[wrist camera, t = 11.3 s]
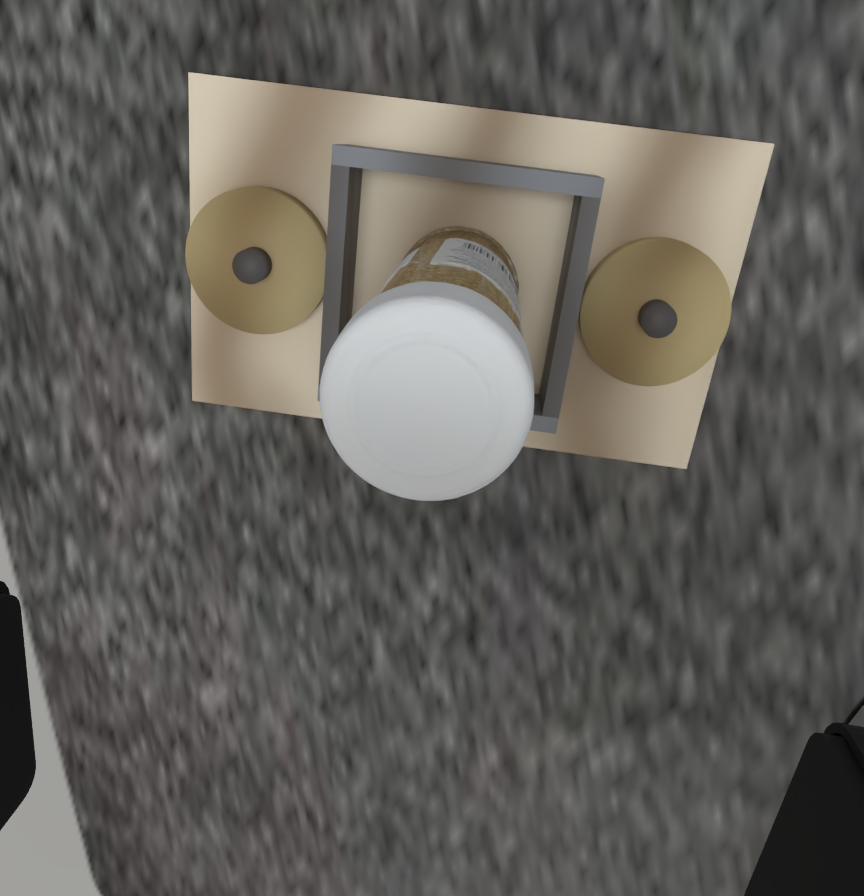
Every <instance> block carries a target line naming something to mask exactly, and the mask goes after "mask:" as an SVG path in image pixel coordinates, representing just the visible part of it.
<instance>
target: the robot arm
mask: <svg viewBox="0 0 864 896" xmlns="http://www.w3.org/2000/svg"><path fill="white" fill-rule="evenodd" d="M35 770H36V760H35V751H34V740H33V729H32V719H31V709H30V699H29V688H28V678H27V668H26V658H25V648H24V637H23V627H22V616H21V607H20V603H19V600H18V599H17V597H15V596H13V595H10V593H9V589H8V587H7V586H6V584H5V583H4V582H2V581H0V830H1V829H2V827H3V826H4V825H5V823H6V822H7V821H8V820H9V818H10V817H11V816H12V814H13V813H14V811H15V810H16V809H17V808H18V806H19V805H20V804H21V802H22V801H23V799H24V798H25V796H26V795H27V793H28V791H29V789H30V787H31V785H32V782H33V779H34V775H35ZM744 896H864V705H863V706H862V707H861V709H860V710H859V711H858V712H857V714H856V715H855V716H854V718H853V719H852V720H851V721H850V723H849V724H843V723H832V724H831V725H829V726H828V727H827V728H826V730H825V731H824V733H814V734H813V735H812V736H811V737H810V738H809V740H808V742H807V744H806V747H805V749H804V752H803V754H802V756H801V759H800V761H799V764H798V766H797V768H796V771H795V773H794V776H793V778H792V781H791V783H790V785H789V788H788V790H787V793H786V795H785V797H784V800H783V802H782V805H781V807H780V810H779V812H778V814H777V817H776V819H775V822H774V824H773V826H772V829H771V831H770V834H769V836H768V839H767V841H766V843H765V846H764V848H763V851H762V853H761V855H760V858H759V860H758V863H757V865H756V868H755V870H754V872H753V875H752V877H751V880H750V882H749V885H748V887H747V889H746V892H745V895H744Z"/></svg>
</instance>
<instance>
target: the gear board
mask: <svg viewBox="0 0 864 896" xmlns="http://www.w3.org/2000/svg"><path fill="white" fill-rule="evenodd" d="M188 73H189V161H190V229H189V233H188V236H187V241H186V251H185V257H186V266H187V271H188V275H189V278H190V281H191V335H192V401H199V402H206V403H213V404H220V405H228V406H235V407H242V408H249V409H256V410H264V411H271V412H278V413H285V414H292V415H300V416H307V417H314V418H321V419H323V418H322V414H321V409H320V380H321V376H322V371H323V367H324V364H325V361H326V358H327V356H328V354H329V351H330V350H331V348H332V346H333V344H334V343H335V341H336V340H337V338H338V336H339V335H340V333H341V332H342V330H343V329H344V327H345V326H346V324H347V323H348V322H349V321H350V319H351V318H352V317H353V316H354V315H355V314H356V312H357V311H358V310H359V309H360V308H361V307H363V306H364V305H365V304H366V303H367V302H368V301H370V300H371V299H373V298H374V297H376V296H378V295H379V294H380V293H381V291H382V289H383V287H384V285H385V284H386V282H387V281H388V279H389V278H390V276H391V275H392V274H393V272H394V271H395V269H396V268H397V267H398V266H399V264H400V263H401V262H402V260H403V258H404V257H405V255H406V254H407V253H408V252H409V250H410V249H411V248H412V247H413V246H414V245H415V243H416V242H417V241H418V240H420V239H421V238H423V237H424V236H426V235H427V234H429V233H431V232H433V231H435V230H437V229H441V228H447V227H457V226H462V227H465V228H471V229H475V230H479V231H481V232H483V233H485V234H487V235H489V236H490V237H492V238H493V239H495V240H496V241H497V242H498V243H500V244H501V245H502V247H503V248H504V250H505V251H506V252H507V254H508V255H509V256H510V258H511V261H512V263H513V264H514V266H515V268H516V272H517V277H518V283H519V292H518V298H519V304H520V310H521V318H522V327H523V335H524V341H525V344H526V346H527V349H528V351H529V355H530V359H531V364H532V371H533V378H534V414H533V419H532V423H531V427H530V430H529V433H528V436H527V439H526V441H525V443H524V445H523V447H530V448H538V449H545V450H552V451H559V452H567V453H574V454H581V455H588V456H595V457H603V458H610V459H617V460H624V461H631V462H639V463H646V464H653V465H660V466H667V467H675V468H682V469H687V465H688V462H689V458H690V454H691V451H692V447H693V443H694V440H695V436H696V432H697V429H698V425H699V421H700V417H701V414H702V410H703V406H704V403H705V399H706V395H707V392H708V388H709V384H710V381H711V377H712V373H713V369H714V366H715V362H716V358H717V355H718V351H719V347H720V345H721V344H722V342H723V340H724V338H725V336H726V333H727V330H728V327H729V323H730V318H731V303H732V299H733V296H734V292H735V288H736V284H737V281H738V277H739V273H740V270H741V266H742V262H743V259H744V255H745V251H746V248H747V244H748V240H749V236H750V233H751V229H752V225H753V222H754V218H755V214H756V211H757V207H758V203H759V200H760V196H761V192H762V188H763V185H764V181H765V177H766V174H767V170H768V166H769V163H770V159H771V155H772V152H773V148H774V144H771V143H762V142H754V141H746V140H738V139H730V138H722V137H713V136H705V135H697V134H689V133H681V132H672V131H664V130H656V129H648V128H640V127H632V126H623V125H615V124H607V123H599V122H591V121H582V120H574V119H566V118H558V117H550V116H542V115H533V114H525V113H517V112H509V111H501V110H493V109H484V108H476V107H468V106H460V105H452V104H443V103H435V102H427V101H419V100H411V99H403V98H394V97H386V96H378V95H370V94H362V93H353V92H345V91H337V90H329V89H321V88H313V87H304V86H296V85H288V84H280V83H272V82H263V81H255V80H247V79H239V78H231V77H223V76H214V75H206V74H198V73H190V72H188Z"/></svg>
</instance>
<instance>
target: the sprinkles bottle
mask: <svg viewBox="0 0 864 896" xmlns="http://www.w3.org/2000/svg"><path fill="white" fill-rule="evenodd" d="M518 292H519V283H518V277H517V272H516V268H515V266H514V264H513V263H512V261H511V258H510V256H509V255H508V254H507V252H506V251H505V250H504V248H503V247H502V245H501V244H500V243H498V242H497V241H496V240H495V239H493V238H492V237H490V236H489V235H487V234H485V233H483V232H481V231H479V230H475V229H471V228H465V227H462V226H457V227H447V228H441V229H437V230H435V231H433V232H431V233H429V234H427V235H426V236H424V237H423V238H421V239H420V240H418V241H417V242H416V243H415V245H414V246H413V247H412V248H411V249H410V250H409V252H408V253H407V254H406V255H405V257H404V258H403V260H402V262H401V263H400V264H399V266H398V267H397V268H396V269H395V271H394V272H393V274H392V275H391V276H390V278H389V279H388V281H387V282H386V284H385V285H384V287H383V289H382V291H381V293H380V294H379V295H378V296H376V297H374V298H373V299H371V300H370V301H368V302H367V303H366V304H365V305H364V306H363V307H361V308H360V309H359V310H358V311H357V312H356V314H355V315H354V316H353V317H352V318H351V319H350V321H349V322H348V323H347V324H346V326H345V327H344V329H343V330H342V332H341V333H340V335H339V336H338V338H337V340H336V341H335V343H334V344H333V346H332V348H331V350H330V351H329V354H328V356H327V358H326V361H325V364H324V367H323V371H322V376H321V380H320V409H321V414H322V418H323V423H324V426H325V429H326V432H327V434H328V436H329V439H330V441H331V443H332V444H333V446H334V448H335V449H336V451H337V452H338V454H339V455H340V457H341V458H342V459H343V460H344V462H345V463H346V464H347V465H348V466H349V467H350V468H351V469H352V470H353V471H354V472H355V473H356V474H357V475H359V476H360V477H361V478H362V479H364V480H365V481H367V482H368V483H370V484H371V485H373V486H375V487H377V488H378V489H380V490H383V491H385V492H388V493H390V494H393V495H396V496H399V497H403V498H407V499H412V500H421V501H440V500H448V499H454V498H458V497H460V496H464V495H467V494H470V493H472V492H475V491H477V490H479V489H481V488H483V487H484V486H486V485H488V484H489V483H491V482H492V481H494V480H495V479H496V478H497V477H498V476H499V475H501V474H502V473H503V472H504V471H505V470H506V469H507V468H508V467H509V466H510V465H511V463H512V462H513V461H514V460H515V459H516V457H517V456H518V454H519V452H520V450H521V449H522V447H523V445H524V443H525V441H526V439H527V436H528V433H529V430H530V427H531V423H532V419H533V414H534V378H533V371H532V364H531V359H530V355H529V351H528V349H527V346H526V344H525V341H524V335H523V327H522V318H521V310H520V304H519V298H518Z"/></svg>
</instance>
